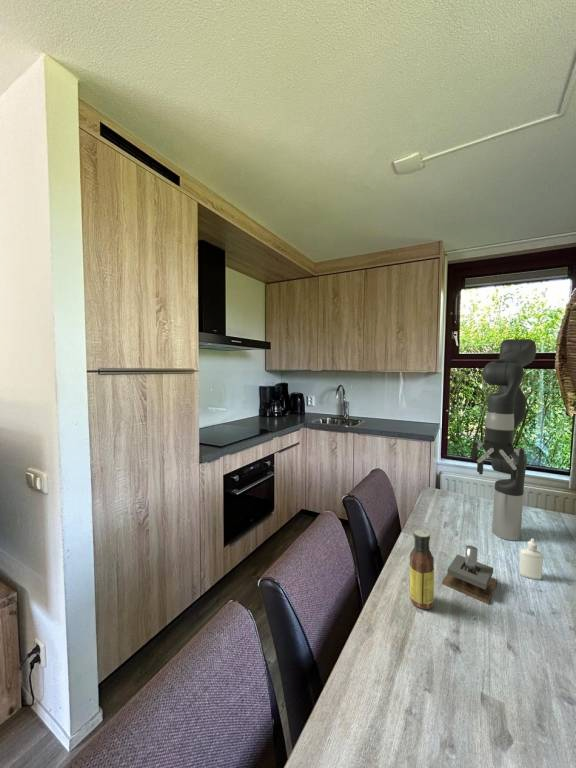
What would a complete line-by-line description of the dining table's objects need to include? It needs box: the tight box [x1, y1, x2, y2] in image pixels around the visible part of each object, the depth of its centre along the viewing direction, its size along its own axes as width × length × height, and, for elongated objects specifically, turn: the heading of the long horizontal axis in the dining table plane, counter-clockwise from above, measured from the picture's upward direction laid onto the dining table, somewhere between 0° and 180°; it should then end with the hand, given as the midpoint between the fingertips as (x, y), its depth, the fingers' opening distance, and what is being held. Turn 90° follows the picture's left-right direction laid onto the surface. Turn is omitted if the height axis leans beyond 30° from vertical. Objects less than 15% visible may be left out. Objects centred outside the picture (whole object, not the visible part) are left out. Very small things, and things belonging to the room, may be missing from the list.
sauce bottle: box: [409, 529, 435, 610], centre depth 90 cm, size 7×6×20 cm
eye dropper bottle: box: [518, 537, 544, 580], centre depth 102 cm, size 4×6×12 cm
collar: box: [446, 554, 494, 590], centre depth 98 cm, size 10×10×2 cm
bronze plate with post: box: [441, 545, 498, 605], centre depth 98 cm, size 12×12×11 cm
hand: (496, 477), depth 104 cm, fingers open, 8 cm apart
